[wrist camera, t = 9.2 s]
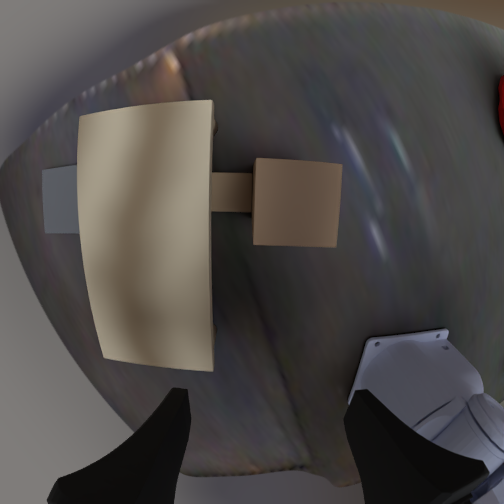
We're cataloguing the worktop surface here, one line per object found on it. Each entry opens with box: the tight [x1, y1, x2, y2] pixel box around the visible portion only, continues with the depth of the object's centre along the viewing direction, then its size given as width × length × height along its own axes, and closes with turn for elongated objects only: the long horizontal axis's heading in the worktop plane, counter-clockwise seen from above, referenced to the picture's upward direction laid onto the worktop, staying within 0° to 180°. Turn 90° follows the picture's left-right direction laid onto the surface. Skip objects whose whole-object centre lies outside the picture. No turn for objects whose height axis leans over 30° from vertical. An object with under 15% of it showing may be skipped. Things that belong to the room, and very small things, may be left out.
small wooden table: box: [77, 100, 218, 372], centre depth 16 cm, size 8×16×4 cm, turn 178°
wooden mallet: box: [211, 158, 342, 247], centre depth 14 cm, size 15×4×7 cm, turn 88°
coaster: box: [42, 165, 80, 233], centre depth 17 cm, size 5×5×1 cm
